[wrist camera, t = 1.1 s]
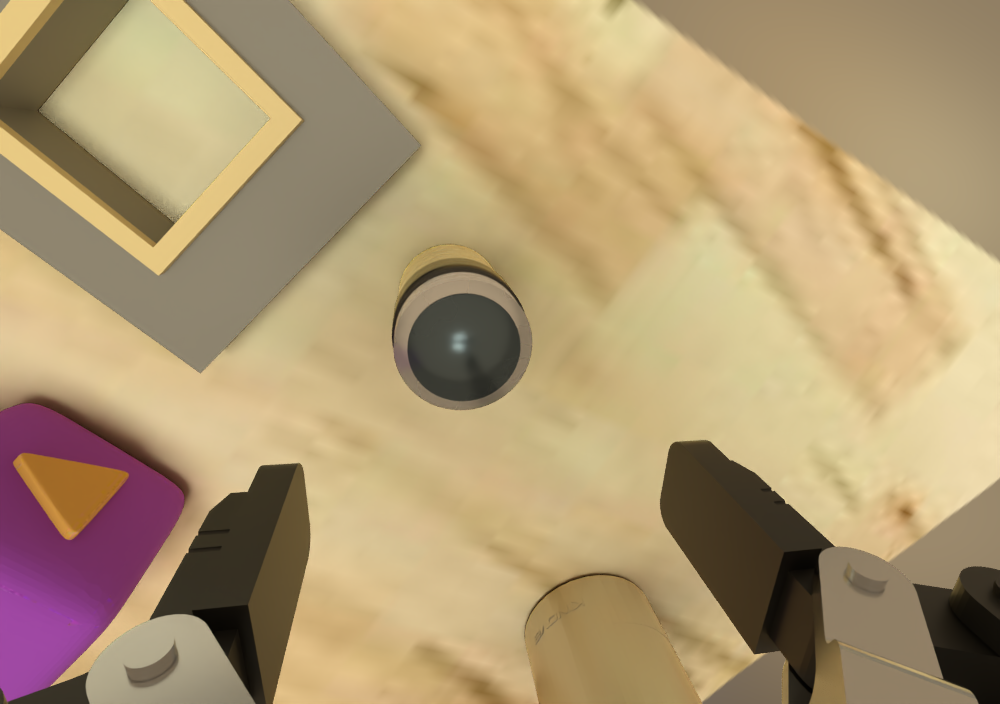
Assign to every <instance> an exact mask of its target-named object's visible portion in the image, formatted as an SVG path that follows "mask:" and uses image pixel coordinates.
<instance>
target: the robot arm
mask: <svg viewBox="0 0 1000 704" xmlns="http://www.w3.org/2000/svg"><path fill="white" fill-rule="evenodd" d="M660 509H661V515H662V518H663V521H664V524H665V526H666V528H667V529H668V531H669V532H670V533H671V535H672V536H673V538H674V539H675V541H676V542H677V544H678V545H679V546H680V548H681V549H682V551H683V552H684V554H685V555H686V557H687V558H688V559H689V561H690V562H691V564H692V565H693V567H694V568H695V570H696V571H697V572H698V574H699V575H700V577H701V578H702V580H703V581H704V583H705V584H706V585H707V587H708V588H709V590H710V591H711V593H712V594H713V595H714V597H715V598H716V600H717V601H718V603H719V604H720V606H721V607H722V608H723V610H724V611H725V613H726V614H727V616H728V617H729V619H730V620H731V621H732V623H733V624H734V626H735V627H736V629H737V630H738V632H739V633H740V634H741V636H742V637H743V639H744V640H745V642H746V643H747V644H748V646H749V647H750V649H751V650H752V652H753V653H754V654H760V653H768V652H775V651H781V653H782V654H783V655H784V657H785V658H786V661H785V664H784V667H783V670H782V704H1000V570H997V569H992V568H986V567H968V568H966V569H963V570H962V571H961V573H960V575H959V577H958V580H957V582H956V584H955V586H954V588H953V590H952V589H945V588H939V587H932V586H925V585H919V584H912V583H911V581H910V580H909V579H908V578H907V577H906V576H905V575H904V574H903V573H902V572H901V571H899V570H898V569H897V568H895V567H894V566H893V565H891V564H889V563H888V562H886V561H885V560H883V559H881V558H879V557H877V556H874V555H872V554H870V553H867V552H864V551H861V550H858V549H854V548H848V547H835V546H834V545H833V544H832V543H831V542H829V541H828V540H827V539H826V538H825V537H824V536H823V535H822V534H821V533H820V532H819V531H817V530H816V529H815V528H814V527H813V526H812V525H811V524H810V523H809V522H808V521H807V520H805V519H804V518H803V517H802V516H801V515H800V514H799V513H798V512H797V511H796V510H795V509H793V508H792V507H791V506H790V505H789V504H785V500H784V499H783V498H781V497H780V496H779V495H778V494H777V493H776V492H775V491H772V490H771V487H770V486H768V485H767V484H766V483H765V482H764V481H763V480H762V479H761V478H760V477H759V476H758V475H756V474H755V473H754V472H752V471H750V470H749V469H747V468H745V467H743V466H741V465H739V464H738V463H736V462H734V461H730V460H729V459H728V458H727V457H726V456H725V455H724V454H723V453H722V452H721V451H720V450H718V449H717V448H716V447H715V446H714V445H713V444H712V443H711V442H710V441H707V440H700V441H683V442H674V443H673V444H672V445H671V446H670V449H669V452H668V458H667V464H666V469H665V475H664V481H663V487H662V492H661V498H660ZM309 550H310V522H309V513H308V505H307V496H306V487H305V479H304V471H303V467H302V465H301V464H300V463H296V464H279V465H263V466H260V468H259V469H258V471H257V473H256V475H255V478H254V480H253V482H252V484H251V486H250V488H249V490H248V492H240V493H230V494H229V495H228V496H227V497H226V498H225V499H223V500H222V501H221V502H220V503H219V504H217V505H216V506H215V507H214V508H213V509H212V510H210V511H209V513H208V515H207V517H206V519H205V520H204V522H203V524H202V526H201V528H200V530H199V531H198V536H196V537H195V539H194V540H193V542H192V544H191V546H190V548H189V553H186V555H185V557H184V558H183V560H182V562H181V564H180V566H179V567H178V569H177V571H176V573H175V575H174V576H173V578H172V580H171V582H170V584H169V586H168V587H167V589H166V591H165V593H164V595H163V596H162V598H161V600H160V602H159V604H158V605H157V607H156V609H155V611H154V613H153V614H152V616H151V618H150V620H149V621H147V622H144V623H142V624H140V625H138V626H136V627H134V628H132V629H131V630H129V631H127V632H126V633H124V634H123V635H121V636H120V637H118V638H117V639H116V640H115V641H114V642H112V643H111V644H110V645H109V646H108V647H107V648H106V649H105V650H104V651H103V652H102V653H101V654H100V655H99V657H98V658H97V659H96V661H95V662H94V664H93V665H92V667H91V669H90V671H89V672H87V673H85V674H83V675H80V676H78V677H75V678H73V679H70V680H67V681H65V682H62V683H59V684H56V685H53V686H51V687H48V688H45V689H42V690H39V691H36V692H34V693H31V694H28V695H25V696H22V697H19V698H17V699H14V700H11V701H8V702H7V700H6V698H5V695H4V693H3V691H2V689H1V688H0V704H273V700H274V696H275V692H276V688H277V684H278V679H279V675H280V671H281V667H282V663H283V659H284V655H285V651H286V647H287V643H288V639H289V635H290V631H291V626H292V622H293V618H294V614H295V610H296V606H297V602H298V598H299V594H300V590H301V586H302V582H303V577H304V573H305V569H306V565H307V561H308V557H309ZM525 643H526V648H527V653H528V657H529V661H530V666H531V670H532V674H533V678H534V683H535V687H536V691H537V697H538V701H539V704H702V702H701V700H700V698H699V696H698V694H697V693H696V691H695V689H694V687H693V685H692V683H691V681H690V679H689V677H688V676H687V674H686V672H685V670H684V668H683V666H682V664H681V662H680V660H679V659H678V657H677V655H676V653H675V651H674V649H673V647H672V645H671V643H670V641H669V639H668V637H667V636H666V634H665V632H664V630H663V628H662V626H661V624H660V622H659V620H658V619H657V617H656V615H655V613H654V611H653V609H652V607H651V605H650V604H649V602H648V600H647V598H646V596H645V595H644V593H643V592H642V590H641V589H639V588H638V587H637V586H636V585H635V584H634V583H632V582H630V581H628V580H626V579H624V578H619V577H615V576H608V575H595V576H588V577H583V578H580V579H576V580H573V581H570V582H568V583H566V584H564V585H562V586H560V587H558V588H556V589H555V590H554V591H552V592H551V593H549V594H548V595H547V596H546V597H545V598H544V599H543V600H542V601H540V602H539V603H538V604H537V606H536V607H535V609H534V610H533V612H532V613H531V615H530V617H529V619H528V622H527V624H526V629H525Z"/></svg>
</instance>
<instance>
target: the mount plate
mask: <svg viewBox="0 0 1000 704" xmlns="http://www.w3.org/2000/svg"><path fill="white" fill-rule="evenodd" d="M127 1H128V0H0V229H1V230H2V231H3V232H5V233H6V234H8V235H9V236H10V237H12V238H13V239H15V240H16V241H17V242H19V243H20V244H21V245H23V246H24V247H26V248H27V249H28V250H30V251H31V252H33V253H34V254H35V255H37V256H38V257H40V258H41V259H42V260H44V261H45V262H46V263H48V264H49V265H51V266H52V267H53V268H55V269H56V270H58V271H59V272H60V273H62V274H63V275H65V276H66V277H67V278H69V279H70V280H71V281H73V282H74V283H76V284H77V285H78V286H80V287H81V288H83V289H84V290H85V291H87V292H88V293H90V294H91V295H92V296H94V297H95V298H96V299H98V300H99V301H101V302H102V303H103V304H105V305H106V306H108V307H109V308H110V309H112V310H113V311H115V312H116V313H117V314H119V315H120V316H121V317H123V318H124V319H126V320H127V321H128V322H130V323H131V324H133V325H134V326H135V327H137V328H138V329H140V330H141V331H142V332H144V333H145V334H146V335H148V336H149V337H151V338H152V339H153V340H155V341H156V342H158V343H159V344H160V345H162V346H163V347H165V348H166V349H167V350H169V351H170V352H171V353H173V354H174V355H176V356H177V357H178V358H180V359H181V360H183V361H184V362H185V363H187V364H188V365H190V366H191V367H192V368H194V369H195V370H196V371H198V372H199V373H201V372H202V371H203V370H204V369H205V368H206V367H207V366H208V365H209V364H210V363H211V362H212V361H213V360H214V359H215V358H216V357H217V356H218V355H219V354H220V353H221V352H222V351H223V350H224V349H225V348H226V347H227V346H228V345H229V344H230V343H231V342H232V341H233V340H234V338H235V337H236V336H237V335H238V334H239V333H240V332H241V331H242V330H243V329H244V328H245V327H246V326H247V325H248V324H249V323H250V322H251V321H252V320H253V319H254V318H255V317H256V316H257V315H258V314H259V313H260V312H261V311H262V310H263V309H264V307H265V306H266V305H267V304H268V303H269V302H270V301H271V300H272V299H273V298H274V297H275V296H276V295H277V294H278V293H279V292H280V291H281V290H282V289H283V288H284V287H285V286H286V285H287V284H288V283H289V282H290V281H291V280H292V279H293V278H294V277H295V275H296V274H297V273H298V272H299V271H300V270H301V269H302V268H303V267H304V266H305V265H306V264H307V263H308V262H309V261H310V260H311V259H312V258H313V257H314V256H315V255H316V254H317V253H318V252H319V251H320V250H321V249H322V248H323V247H324V246H325V245H326V243H327V242H328V241H329V240H330V239H331V238H332V237H333V236H334V235H335V234H336V233H337V232H338V231H339V230H340V229H341V228H342V227H343V226H344V225H345V224H346V223H347V222H348V221H349V220H350V219H351V218H352V217H353V216H354V215H355V214H356V212H357V211H358V210H359V209H360V208H361V207H362V206H363V205H364V204H365V203H366V202H367V201H368V200H369V199H370V198H371V197H372V196H373V195H374V194H375V193H376V192H377V191H378V190H379V189H380V188H381V187H382V186H383V185H384V184H385V183H386V182H387V180H388V179H389V178H390V177H391V176H392V175H393V174H394V173H395V172H396V171H397V170H398V169H399V168H400V167H401V166H402V165H403V164H404V163H405V162H406V161H407V160H408V159H409V158H410V157H411V156H412V155H413V154H414V153H415V152H416V151H417V150H418V148H419V147H420V146H421V145H420V144H419V142H418V141H417V140H416V139H415V138H414V137H413V136H412V135H411V134H410V133H409V132H408V130H407V129H406V128H405V127H404V126H403V125H402V124H401V123H400V122H399V121H398V119H397V118H396V117H395V116H394V115H393V114H392V113H391V112H390V111H389V110H388V109H387V107H386V106H385V105H384V104H383V103H382V102H381V101H380V100H379V99H378V98H377V96H376V95H375V94H374V93H373V92H372V91H371V90H370V89H369V88H368V87H367V86H366V84H365V83H364V82H363V81H362V80H361V79H360V78H359V77H358V76H357V75H356V73H355V72H354V71H353V70H352V69H351V68H350V67H349V66H348V65H347V64H346V63H345V61H344V60H343V59H342V58H341V57H340V56H339V55H338V54H337V53H336V52H335V50H334V49H333V48H332V47H331V46H330V45H329V44H328V43H327V42H326V41H325V40H324V38H323V37H322V36H321V35H320V34H319V33H318V32H317V31H316V30H315V29H314V27H313V26H312V25H311V24H310V23H309V22H308V21H307V20H306V19H305V18H304V17H303V15H302V14H301V13H300V12H299V11H298V10H297V9H296V8H295V7H294V6H293V4H292V3H291V2H290V1H289V0H150V1H151V2H152V3H153V4H154V5H155V6H156V7H157V8H158V9H159V10H160V11H161V12H162V13H163V14H164V15H166V16H167V17H168V18H169V19H170V20H171V21H172V22H173V23H174V24H175V25H176V26H177V27H178V28H179V29H180V30H181V31H182V32H183V33H184V34H185V35H186V36H187V37H188V38H189V39H190V40H191V41H192V42H193V43H194V44H195V45H196V46H197V47H198V48H199V49H200V50H201V51H202V52H203V53H204V54H205V55H206V56H207V57H208V58H209V59H210V60H212V61H213V62H214V63H215V64H216V65H217V66H218V67H219V68H220V69H221V70H222V71H223V72H224V73H225V74H226V75H227V76H228V77H229V78H230V79H231V80H232V81H233V82H234V83H235V84H236V85H237V86H238V87H239V88H240V89H241V90H242V91H243V92H244V93H245V94H246V95H247V96H248V97H249V98H250V99H251V100H252V101H253V102H254V103H255V104H256V105H257V106H259V107H260V108H261V109H262V110H263V111H264V112H265V113H266V114H267V115H268V116H269V117H270V119H269V120H268V122H267V123H266V124H265V125H264V126H263V127H262V128H261V129H260V130H259V131H258V133H257V134H256V135H255V136H254V137H253V138H252V139H251V140H250V141H249V143H248V144H247V145H246V146H245V147H244V148H243V149H242V150H241V151H240V152H239V154H238V155H237V156H236V157H235V158H234V159H233V160H232V161H231V162H230V163H229V165H228V166H227V167H226V168H225V169H224V170H223V171H222V172H221V173H220V175H219V176H218V177H217V178H216V179H215V180H214V181H213V182H212V183H211V184H210V186H209V187H208V188H207V189H206V190H205V191H204V192H203V193H202V194H201V195H200V197H199V198H198V199H197V200H196V201H195V202H194V203H193V204H192V205H191V207H190V208H189V209H188V210H187V211H186V212H185V213H184V214H183V215H182V216H181V218H180V219H179V220H178V221H177V222H176V223H175V224H174V223H173V222H172V221H171V220H169V219H168V218H167V217H166V216H165V215H163V214H162V213H161V212H160V211H158V210H157V209H156V208H155V207H154V206H152V205H151V204H150V203H149V202H147V201H146V200H145V199H144V198H143V197H141V196H140V195H139V194H138V193H137V192H135V191H134V190H133V189H132V188H130V187H129V186H128V185H127V184H126V183H124V182H123V181H122V180H121V179H120V178H118V177H117V176H116V175H115V174H113V173H112V172H111V171H110V170H109V169H107V168H106V167H105V166H104V165H103V164H101V163H100V162H99V161H98V160H96V159H95V158H94V157H93V156H92V155H90V154H89V153H88V152H87V151H85V150H84V149H83V148H82V147H81V146H79V145H78V144H77V143H76V142H75V141H73V140H72V139H71V138H70V137H68V136H67V135H66V134H65V133H64V132H62V131H61V130H60V129H59V128H58V127H56V126H55V125H54V124H53V123H51V122H50V121H49V120H48V119H47V118H45V117H44V116H43V115H42V114H40V113H39V112H38V109H39V108H40V107H41V106H42V105H43V103H44V102H45V101H46V100H47V98H48V97H49V96H50V95H51V94H52V92H53V91H54V90H55V89H56V88H57V86H58V85H59V84H60V83H61V81H62V80H63V79H64V78H65V77H66V75H67V74H68V73H69V72H70V70H71V69H72V68H73V67H74V66H75V64H76V63H77V62H78V61H79V60H80V58H81V57H82V56H83V55H84V53H85V52H86V51H87V50H88V49H89V47H90V46H91V45H92V44H93V43H94V41H95V40H96V39H97V38H98V36H99V35H100V34H101V33H102V32H103V30H104V29H105V28H106V27H107V26H108V24H109V23H110V22H111V21H112V19H113V18H114V17H115V16H116V15H117V13H118V12H119V11H120V10H121V8H122V7H123V6H124V5H125V4H126V2H127Z"/></svg>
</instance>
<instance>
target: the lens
mask: <svg viewBox="0 0 1000 704" xmlns="http://www.w3.org/2000/svg"><path fill="white" fill-rule="evenodd" d="M392 342H393V348H394V358H395V362H396V366H397V368H398V371H399V373H400V375H401V377H402V379H403V380H404V382H405V383H406V384H407V386H408V387H409V388H410V389H411V390H412V391H413V392H414V393H415V394H416V395H418V396H419V397H420V398H422V399H423V400H425V401H427V402H429V403H431V404H433V405H436V406H438V407H442V408H446V409H452V410H469V409H475V408H480V407H483V406H486V405H489V404H491V403H493V402H495V401H497V400H498V399H500V398H502V397H503V396H505V395H506V394H507V393H508V392H510V391H511V390H512V389H513V388H514V387H515V386H516V384H517V383H518V382H519V380H520V379H521V378H522V376H523V374H524V372H525V371H526V368H527V366H528V364H529V360H530V357H531V351H532V334H531V329H530V325H529V322H528V319H527V317H526V315H525V313H524V310H523V308H522V305H521V303H520V302H519V300H518V298H517V297H516V295H515V294H514V293H513V291H512V290H511V289H510V287H509V286H508V285H507V283H506V282H505V281H504V280H503V278H502V277H501V276H500V275H499V274H498V273H497V272H495V271H494V269H493V268H492V267H491V265H490V264H489V263H488V262H487V260H486V259H485V258H484V257H482V256H481V255H480V254H479V253H477V252H476V251H474V250H472V249H470V248H467V247H465V246H461V245H455V244H443V245H438V246H434V247H431V248H429V249H427V250H424V251H423V252H421V253H420V254H418V255H417V256H416V257H415V258H414V259H413V260H412V261H411V262H410V263H409V264H408V266H407V267H406V269H405V271H404V273H403V275H402V277H401V280H400V285H399V292H398V298H397V301H396V305H395V310H394V318H393V327H392Z"/></svg>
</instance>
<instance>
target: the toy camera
mask: <svg viewBox="0 0 1000 704" xmlns="http://www.w3.org/2000/svg"><path fill="white" fill-rule="evenodd" d="M183 506H184V494H183V492H182V491H181V490H180V488H178V487H177V486H176V485H175V484H174V483H173V482H171V481H170V480H168V479H167V478H166V477H164V476H163V475H161V474H160V473H158V472H156V471H155V470H153V469H151V468H150V467H148V466H147V465H145V464H143V463H142V462H140V461H138V460H137V459H135V458H133V457H132V456H130V455H128V454H127V453H125V452H124V451H122V450H120V449H119V448H117V447H115V446H114V445H112V444H110V443H109V442H107V441H105V440H104V439H102V438H100V437H99V436H97V435H95V434H94V433H92V432H90V431H89V430H87V429H85V428H84V427H82V426H80V425H78V424H77V423H75V422H73V421H72V420H70V419H68V418H67V417H65V416H63V415H61V414H59V413H57V412H55V411H53V410H52V409H49V408H47V407H44V406H42V405H38V404H34V403H25V404H19V405H16V406H13V407H10V408H7V409H5V410H3V411H1V412H0V688H1V689H2V691H3V693H4V695H5V698H6V700H7V702H8V701H11V700H14V699H17V698H19V697H22V696H25V695H28V694H31V693H34V692H36V691H39V690H42V689H45V688H48V687H50V686H51V685H52V684H53V683H54V682H55V681H56V680H57V679H58V678H59V677H60V676H61V675H62V674H63V673H64V672H65V671H66V670H67V669H68V668H69V667H70V666H71V665H72V664H73V663H74V662H75V661H76V660H77V659H78V658H79V657H80V656H81V655H82V654H83V653H84V652H85V651H86V650H87V649H88V648H89V646H90V645H91V644H92V643H93V642H94V641H95V640H96V639H97V638H98V637H99V636H100V635H101V634H102V633H103V632H104V630H105V629H106V628H107V627H108V626H109V624H110V623H111V622H112V620H113V619H114V618H115V617H116V615H117V614H118V613H119V611H120V610H121V608H122V607H123V605H124V604H125V602H126V601H127V599H128V598H129V596H130V595H131V593H132V592H133V590H134V589H135V587H136V585H137V584H138V582H139V581H140V579H141V578H142V576H143V575H144V573H145V571H146V570H147V568H148V567H149V565H150V564H151V562H152V561H153V559H154V557H155V556H156V554H157V553H158V551H159V550H160V548H161V547H162V545H163V543H164V542H165V540H166V539H167V537H168V536H169V534H170V532H171V531H172V529H173V527H174V526H175V524H176V522H177V520H178V518H179V516H180V514H181V512H182V509H183Z"/></svg>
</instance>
